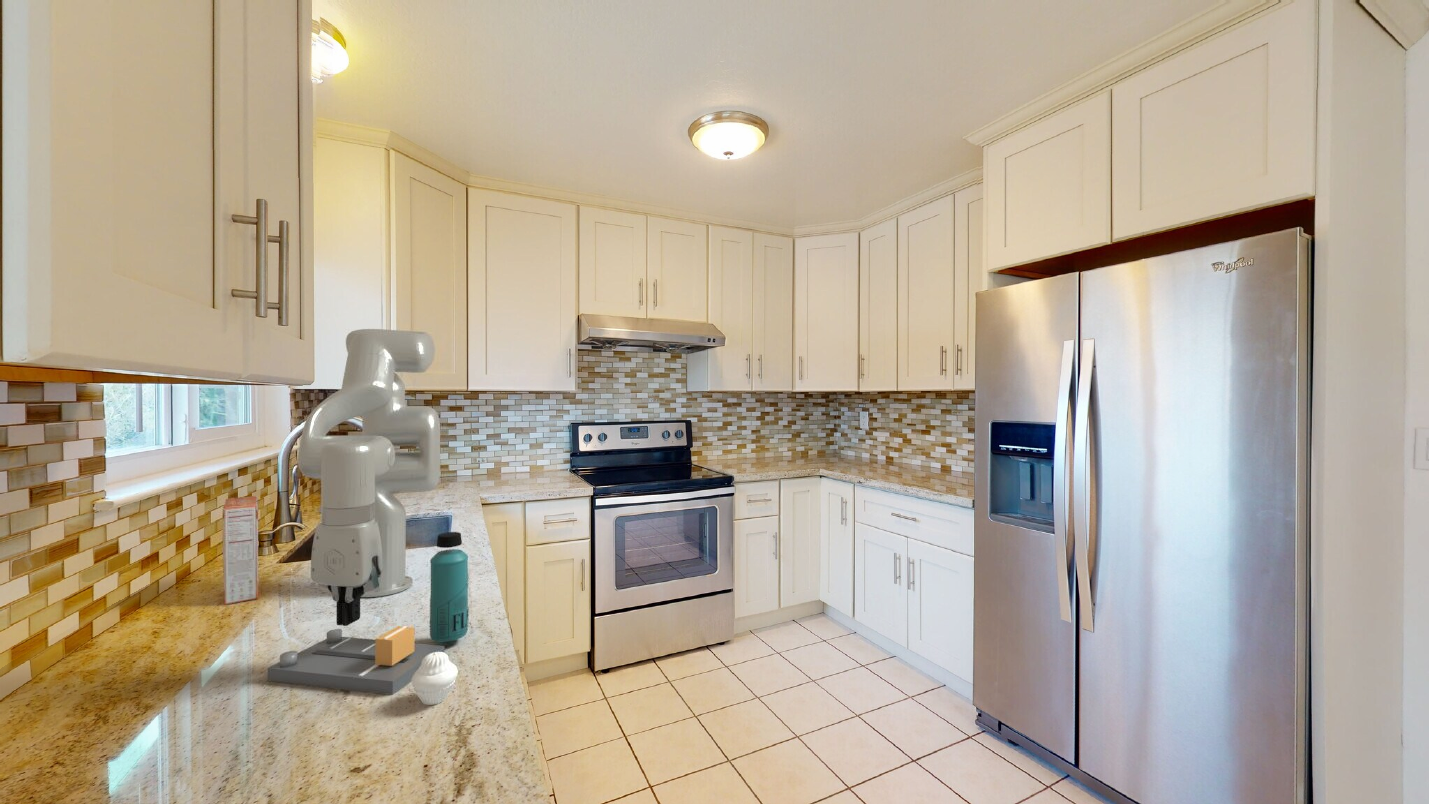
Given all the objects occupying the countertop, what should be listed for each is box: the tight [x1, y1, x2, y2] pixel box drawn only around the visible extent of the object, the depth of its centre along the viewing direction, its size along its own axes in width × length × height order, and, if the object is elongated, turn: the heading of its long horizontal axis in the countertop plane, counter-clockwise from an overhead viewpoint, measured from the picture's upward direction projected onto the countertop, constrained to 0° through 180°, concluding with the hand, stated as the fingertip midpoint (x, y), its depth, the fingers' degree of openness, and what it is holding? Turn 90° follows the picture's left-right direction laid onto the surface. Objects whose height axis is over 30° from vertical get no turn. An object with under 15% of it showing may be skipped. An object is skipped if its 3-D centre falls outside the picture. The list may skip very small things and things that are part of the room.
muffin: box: [410, 651, 459, 706], centre depth 81 cm, size 6×6×7 cm
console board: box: [266, 628, 445, 696], centre depth 90 cm, size 22×12×4 cm, turn 81°
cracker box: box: [222, 495, 259, 605], centre depth 123 cm, size 14×6×21 cm, turn 40°
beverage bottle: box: [428, 531, 470, 643], centre depth 100 cm, size 6×7×20 cm
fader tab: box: [374, 625, 416, 666], centre depth 89 cm, size 3×5×4 cm, turn 171°
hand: (348, 621), depth 93 cm, fingers closed
